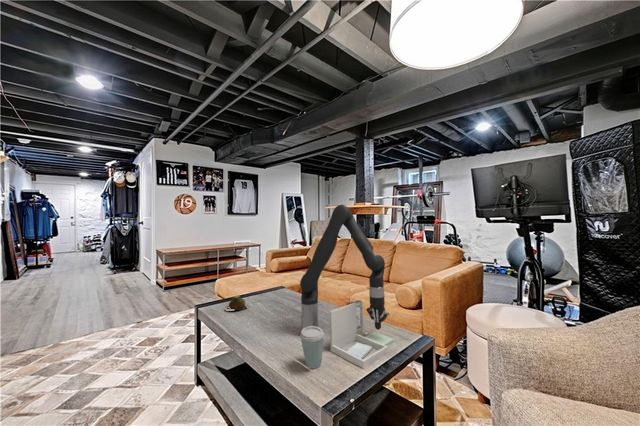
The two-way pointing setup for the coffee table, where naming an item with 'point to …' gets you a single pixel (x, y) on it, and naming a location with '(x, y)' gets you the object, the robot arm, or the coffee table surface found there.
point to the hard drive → (360, 350)
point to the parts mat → (380, 338)
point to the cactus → (237, 303)
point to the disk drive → (358, 312)
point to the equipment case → (351, 336)
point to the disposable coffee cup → (312, 345)
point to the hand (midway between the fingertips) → (378, 328)
